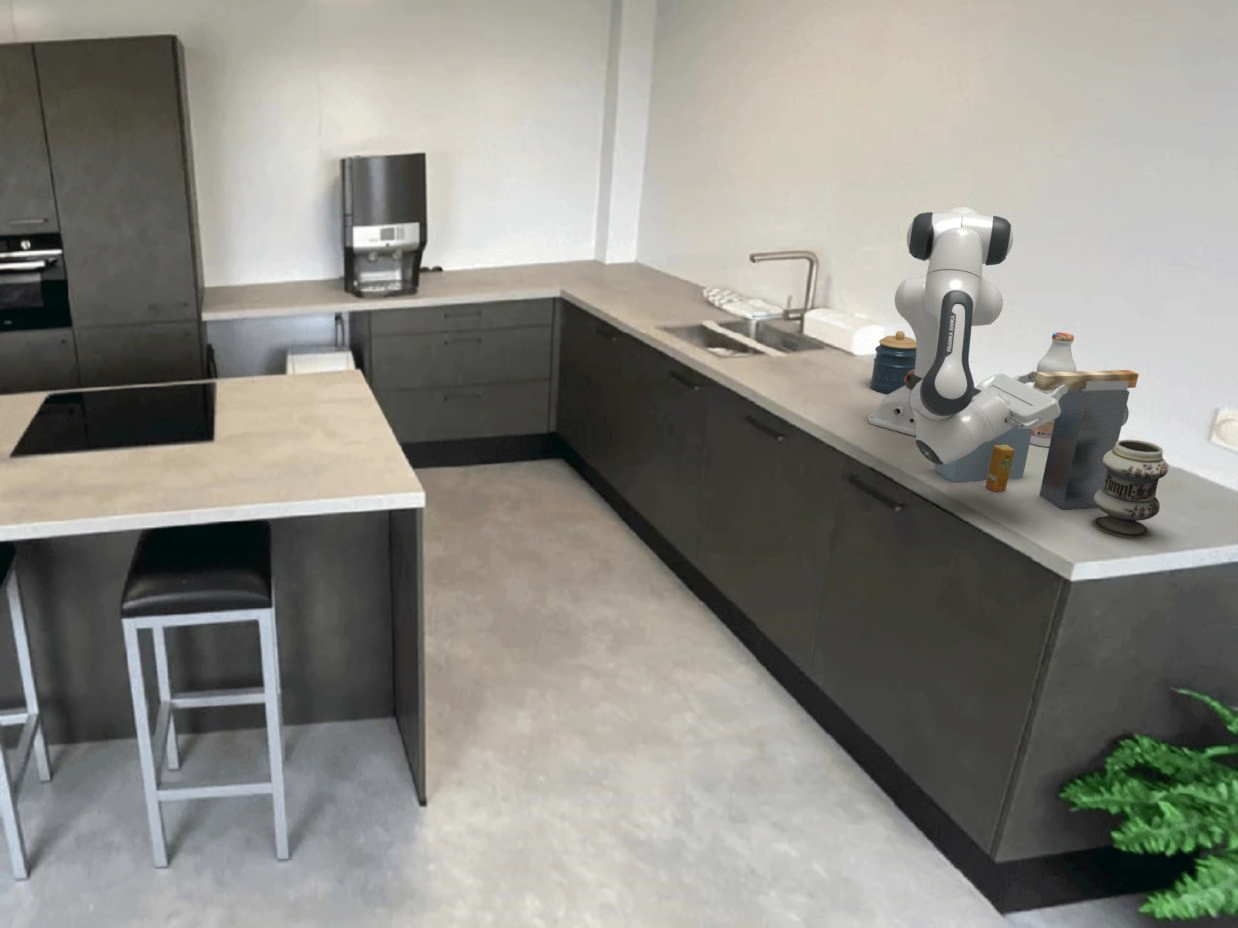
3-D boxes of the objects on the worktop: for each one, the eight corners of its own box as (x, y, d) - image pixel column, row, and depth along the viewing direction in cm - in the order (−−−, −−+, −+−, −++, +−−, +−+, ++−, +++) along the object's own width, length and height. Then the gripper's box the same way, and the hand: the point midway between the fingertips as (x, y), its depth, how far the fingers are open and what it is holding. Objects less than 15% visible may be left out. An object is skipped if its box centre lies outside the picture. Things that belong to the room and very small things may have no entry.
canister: (907, 398, 284) (916, 338, 278) (864, 390, 291) (871, 331, 284) (920, 388, 295) (929, 330, 289) (877, 380, 301) (885, 324, 295)
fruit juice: (1014, 437, 255) (1034, 330, 245) (1043, 434, 258) (1064, 329, 249) (1040, 449, 247) (1062, 340, 237) (1069, 446, 250) (1093, 338, 240)
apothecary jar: (1113, 512, 211) (1132, 432, 204) (1166, 534, 201) (1187, 451, 194) (1075, 521, 205) (1094, 439, 199) (1127, 544, 195) (1148, 459, 189)
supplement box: (994, 492, 219) (1002, 449, 215) (984, 486, 222) (992, 444, 218) (1007, 491, 219) (1015, 448, 216) (997, 485, 223) (1005, 443, 219)
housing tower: (1062, 509, 211) (1089, 383, 201) (1039, 495, 218) (1064, 372, 208) (1110, 506, 213) (1140, 382, 203) (1086, 492, 221) (1113, 371, 211)
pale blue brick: (952, 481, 224) (963, 419, 218) (934, 469, 231) (944, 408, 225) (1022, 478, 227) (1035, 416, 222) (1002, 465, 235) (1014, 405, 229)
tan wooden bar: (1043, 390, 202) (1046, 376, 201) (1034, 386, 204) (1037, 372, 203) (1135, 387, 207) (1138, 373, 206) (1125, 383, 209) (1128, 370, 208)
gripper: (1018, 418, 192) (1079, 382, 192) (961, 387, 211) (1017, 355, 211) (1027, 444, 195) (1087, 408, 195) (970, 411, 213) (1025, 379, 214)
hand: (1050, 380), depth 203 cm, fingers open, 8 cm apart
